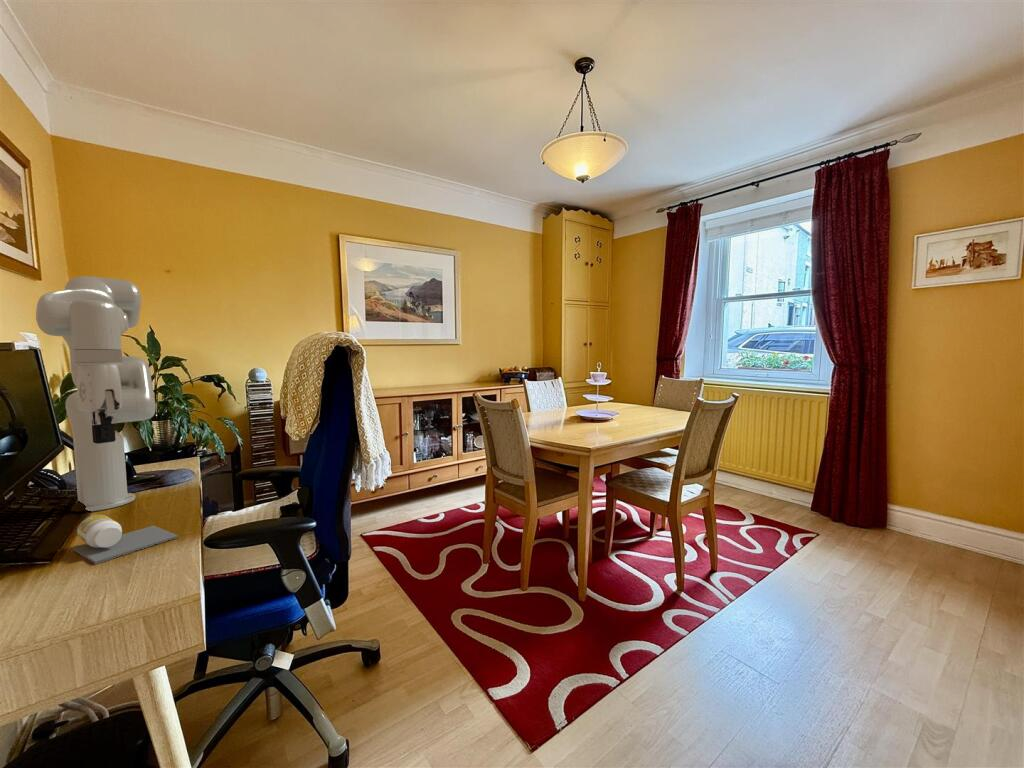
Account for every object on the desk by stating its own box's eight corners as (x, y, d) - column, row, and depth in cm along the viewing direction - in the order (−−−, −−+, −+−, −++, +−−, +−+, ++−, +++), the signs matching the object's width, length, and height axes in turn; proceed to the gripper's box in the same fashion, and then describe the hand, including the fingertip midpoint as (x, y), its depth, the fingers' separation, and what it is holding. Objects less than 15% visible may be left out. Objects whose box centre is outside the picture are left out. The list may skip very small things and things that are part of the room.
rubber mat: (74, 551, 83) (73, 548, 83) (154, 527, 94) (153, 525, 94) (95, 564, 77) (95, 561, 77) (178, 538, 88) (177, 535, 88)
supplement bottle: (110, 537, 89) (124, 548, 84) (74, 543, 84) (87, 554, 79) (113, 512, 89) (128, 521, 84) (78, 516, 85) (91, 526, 79)
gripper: (62, 359, 88) (68, 442, 89) (86, 357, 81) (93, 448, 82) (108, 359, 95) (114, 436, 96) (135, 357, 87) (140, 442, 88)
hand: (104, 442), depth 89 cm, fingers closed
